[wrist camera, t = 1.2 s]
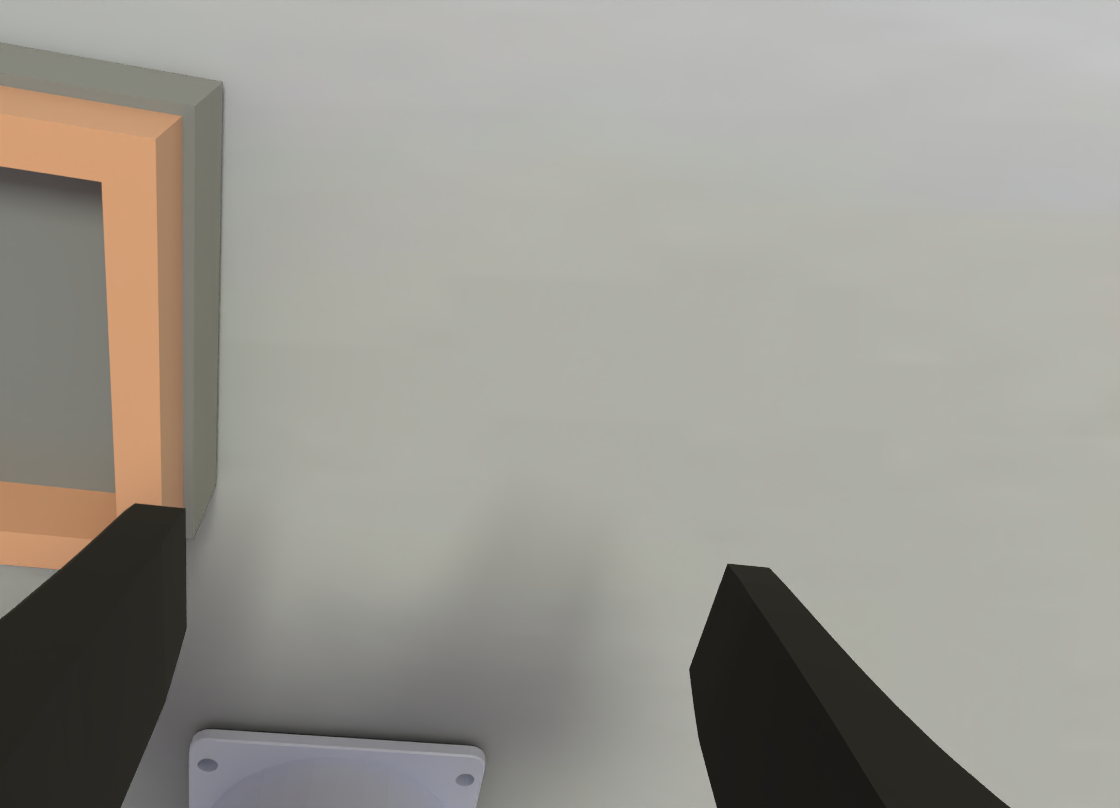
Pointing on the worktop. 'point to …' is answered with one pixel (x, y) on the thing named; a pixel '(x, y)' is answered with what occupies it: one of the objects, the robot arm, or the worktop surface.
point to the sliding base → (105, 297)
